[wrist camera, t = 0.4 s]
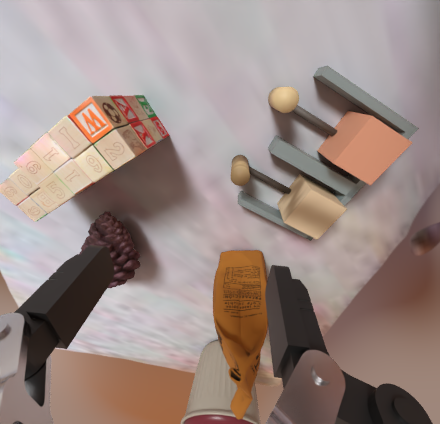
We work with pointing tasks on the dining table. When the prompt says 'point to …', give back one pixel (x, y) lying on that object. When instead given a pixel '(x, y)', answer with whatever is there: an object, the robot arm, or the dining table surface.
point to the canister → (216, 392)
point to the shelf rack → (316, 168)
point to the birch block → (296, 200)
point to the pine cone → (114, 247)
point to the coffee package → (241, 319)
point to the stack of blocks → (82, 152)
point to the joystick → (349, 138)
